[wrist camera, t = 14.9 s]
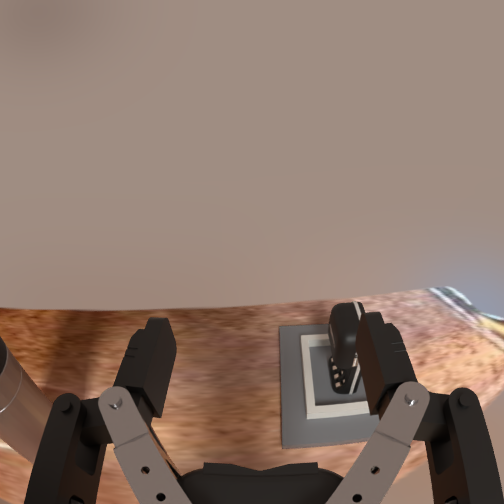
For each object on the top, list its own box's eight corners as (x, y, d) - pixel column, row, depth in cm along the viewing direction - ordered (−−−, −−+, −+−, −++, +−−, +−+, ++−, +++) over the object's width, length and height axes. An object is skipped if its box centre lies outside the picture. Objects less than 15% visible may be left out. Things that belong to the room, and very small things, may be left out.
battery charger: (322, 357, 43) (329, 296, 37) (348, 355, 42) (360, 294, 36) (328, 399, 37) (339, 341, 31) (356, 395, 36) (375, 337, 30)
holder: (282, 448, 32) (282, 440, 31) (279, 331, 49) (279, 319, 48) (409, 433, 31) (416, 424, 30) (377, 325, 48) (380, 313, 47)
